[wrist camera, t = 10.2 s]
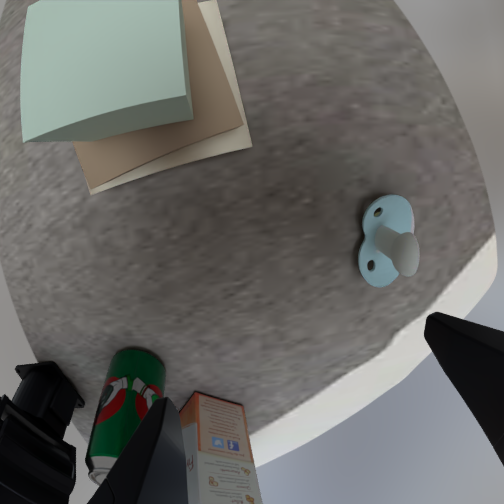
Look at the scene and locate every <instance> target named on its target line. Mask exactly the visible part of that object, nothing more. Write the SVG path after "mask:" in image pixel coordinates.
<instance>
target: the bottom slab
mask: <svg viewBox="0 0 504 504" xmlns="http://www.w3.org/2000/svg"><path fill="white" fill-rule="evenodd" d="M198 5H199V8H200V10H201V13H202V15H203V17H204V20H205V22H206V25H207V27H208V30H209V32H210V35H211V37H212V40H213V43H214V45H215V48H216V50H217V53H218V55H219V58H220V61H221V63H222V66H223V69H224V71H225V74H226V76H227V79H228V82H229V84H230V87H231V90H232V93H233V95H234V98H235V101H236V104H237V106H238V109H239V112H240V115H241V117H242V120H243V123H244V125H242V126H240V127H238V128H236V129H233V130H230V131H227V132H225V133H222V134H219V135H216V136H213V137H211V138H208V139H205V140H203V141H200V142H197V143H195V144H192V145H190V146H187V147H184V148H182V149H180V150H177V151H175V152H172V153H170V154H167V155H165V156H163V157H160V158H158V159H156V160H154V161H151V162H149V163H147V164H145V165H142V166H140V167H138V168H136V169H134V170H132V171H130V172H127V173H125V174H123V175H121V176H119V177H117V178H115V179H113V180H111V181H109V182H107V183H105V184H102V185H100V186H98V187H96V188H94V189H90V187H89V185H88V182H87V185H88V188H89V191H90V195H93V194H96V193H98V192H101V191H103V190H106V189H109V188H112V187H114V186H117V185H120V184H123V183H126V182H129V181H131V180H134V179H137V178H140V177H143V176H146V175H150V174H153V173H156V172H159V171H162V170H165V169H169V168H172V167H175V166H179V165H182V164H186V163H189V162H193V161H197V160H200V159H204V158H208V157H212V156H216V155H219V154H223V153H228V152H232V151H236V150H240V149H245V148H249V147H252V143H251V138H250V134H249V129H248V125H247V121H246V117H245V112H244V108H243V104H242V100H241V96H240V91H239V87H238V83H237V79H236V75H235V71H234V67H233V63H232V59H231V55H230V51H229V47H228V43H227V39H226V35H225V31H224V28H223V24H222V20H221V16H220V12H219V9H218V5H217V1H216V0H212V1H206V2H201V3H198ZM85 178H86V177H85ZM86 181H87V180H86Z"/></svg>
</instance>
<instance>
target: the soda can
mask: <svg viewBox="0 0 504 504" xmlns="http://www.w3.org/2000/svg"><path fill="white" fill-rule="evenodd" d="M165 377H166V373H165V369H164V367H163V365H162V364H161V363H160V362H159V361H158V360H157V359H156V358H155V357H154V356H152V355H150V354H149V353H147V352H144V351H141V350H125V351H121V352H119V353H117V354H116V355H115V356H114V357H113V358H112V360H111V363H110V366H109V369H108V373H107V376H106V379H105V382H104V386H103V389H102V393H101V396H100V400H99V404H98V407H97V411H96V415H95V419H94V423H93V427H92V431H91V435H90V440H89V444H88V449H87V453H86V458H85V463H86V465H87V467H88V469H89V473H88V475H89V478H90V479H91V480H92V481H93V482H94V483H95V484H97V485H99V486H100V485H101V483H102V482H103V480H104V479H105V478H106V476H107V474H108V472H109V471H110V469H111V468H112V466H113V465H114V463H115V461H116V460H117V458H118V457H119V455H120V454H121V452H122V450H123V449H124V447H125V446H126V444H127V443H128V441H129V440H130V438H131V436H132V435H133V433H134V432H135V430H136V429H137V427H138V426H139V424H140V422H141V421H142V419H143V418H144V416H145V415H146V413H147V411H148V410H149V408H150V407H151V405H152V404H153V402H154V401H155V400H156V399H157V398H163V397H164V389H165Z"/></svg>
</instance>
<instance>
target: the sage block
mask: <svg viewBox="0 0 504 504" xmlns="http://www.w3.org/2000/svg"><path fill="white" fill-rule="evenodd" d="M20 94H21V123H22V136H23V142H52V141H82V142H93V141H96V140H100V139H103V138H107V137H111V136H115V135H119V134H123V133H127V132H131V131H135V130H140V129H144V128H149V127H154V126H159V125H164V124H169V123H175V122H181V121H187V120H193V119H194V117H193V108H192V99H191V90H190V80H189V70H188V59H187V48H186V36H185V24H184V16H183V8H182V0H40V1H38V2H36V3H34V4H32V5H30V6H29V7H28V11H27V16H26V23H25V30H24V38H23V47H22V60H21V88H20Z"/></svg>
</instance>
